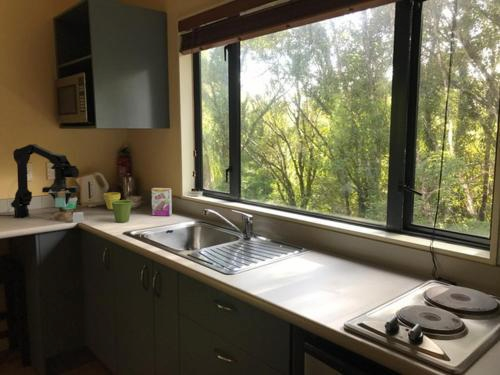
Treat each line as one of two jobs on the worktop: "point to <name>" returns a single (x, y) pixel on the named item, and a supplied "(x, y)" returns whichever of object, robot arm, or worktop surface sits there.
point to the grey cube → (78, 217)
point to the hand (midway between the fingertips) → (61, 204)
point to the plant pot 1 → (111, 199)
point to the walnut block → (62, 216)
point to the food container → (69, 206)
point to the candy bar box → (161, 201)
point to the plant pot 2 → (121, 210)
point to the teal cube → (60, 202)
